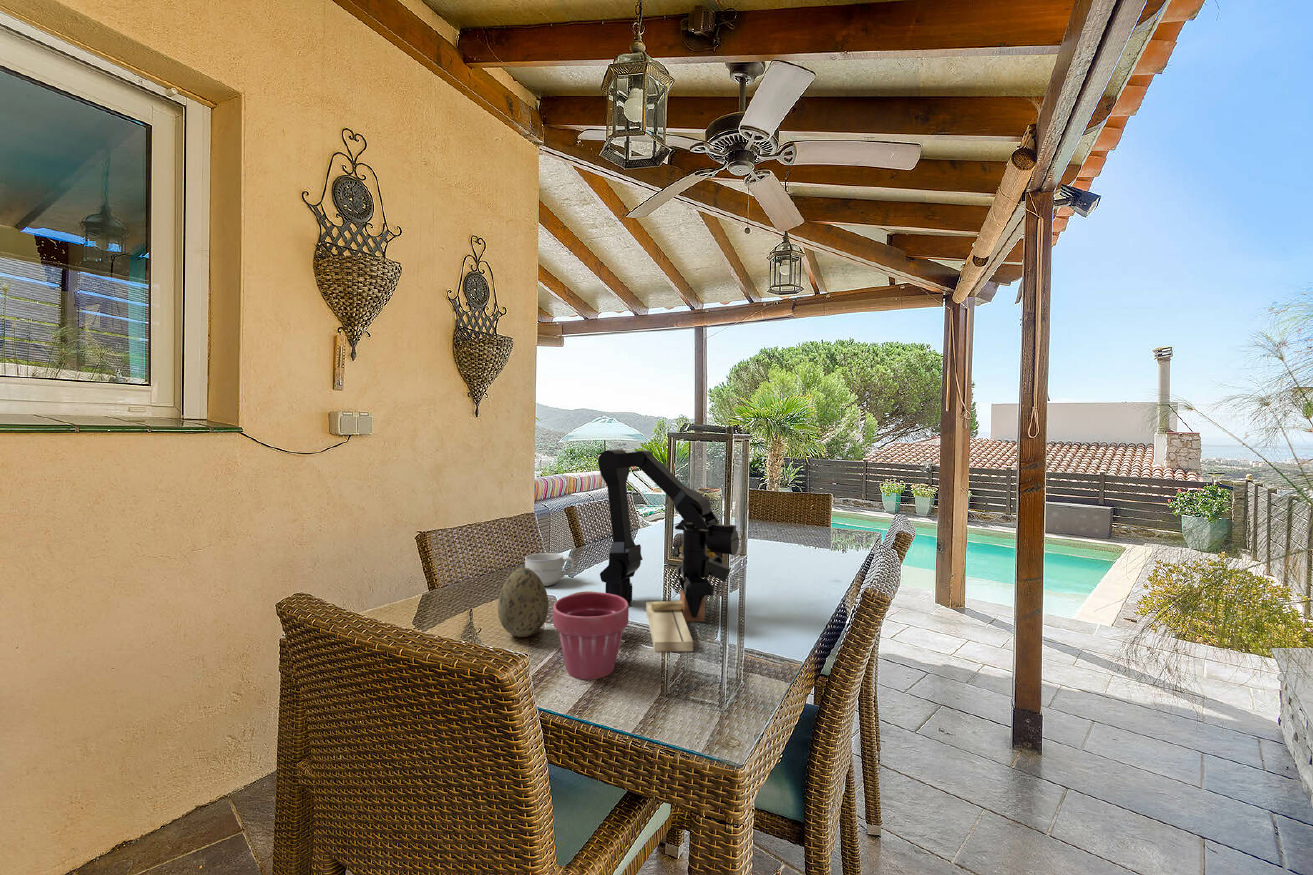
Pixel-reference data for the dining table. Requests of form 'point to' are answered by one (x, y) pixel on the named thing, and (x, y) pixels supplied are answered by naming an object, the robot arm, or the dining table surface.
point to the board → (668, 630)
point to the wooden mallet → (683, 606)
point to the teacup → (548, 566)
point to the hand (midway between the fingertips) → (692, 613)
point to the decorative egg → (523, 603)
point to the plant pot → (590, 632)
